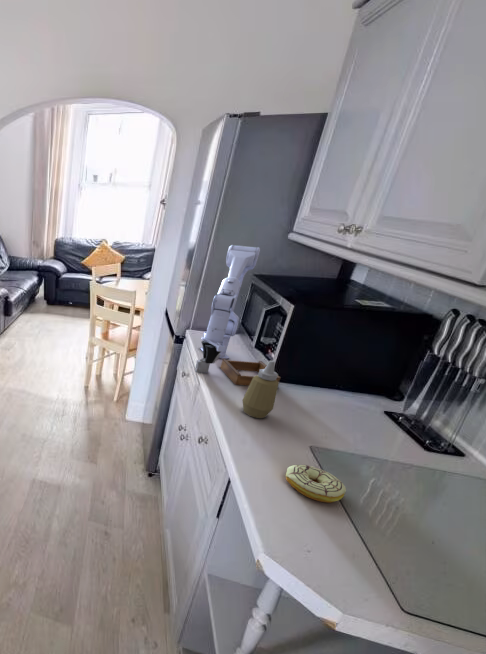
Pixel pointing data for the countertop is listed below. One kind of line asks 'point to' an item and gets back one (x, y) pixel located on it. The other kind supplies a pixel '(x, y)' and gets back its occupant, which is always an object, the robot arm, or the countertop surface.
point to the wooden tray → (233, 366)
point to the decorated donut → (315, 483)
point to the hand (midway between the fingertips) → (207, 361)
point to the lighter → (204, 364)
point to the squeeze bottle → (261, 392)
